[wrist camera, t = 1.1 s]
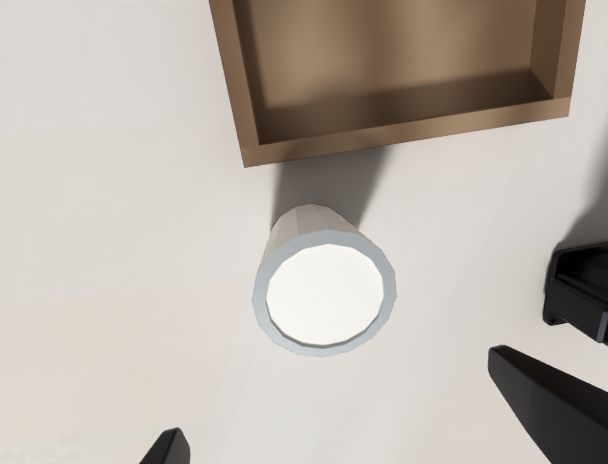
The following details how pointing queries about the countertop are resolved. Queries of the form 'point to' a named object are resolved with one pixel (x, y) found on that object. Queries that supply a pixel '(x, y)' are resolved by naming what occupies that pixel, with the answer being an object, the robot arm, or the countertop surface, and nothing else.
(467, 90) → the walnut tray
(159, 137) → the countertop surface
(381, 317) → the white cup
